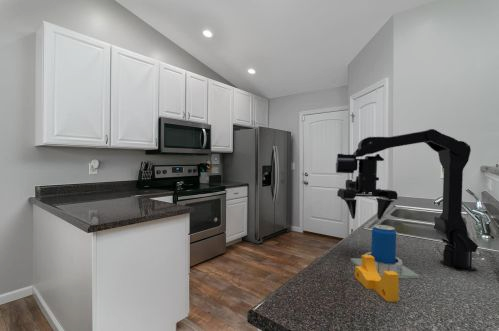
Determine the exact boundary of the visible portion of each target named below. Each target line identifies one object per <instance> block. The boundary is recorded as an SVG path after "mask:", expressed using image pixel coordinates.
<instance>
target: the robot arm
mask: <svg viewBox="0 0 499 331" xmlns="http://www.w3.org/2000/svg"><path fill="white" fill-rule="evenodd" d="M421 143H425V144H426V145H427V146H428V147H429V148H430V149H431V150H432V151H434V152H437V154H438V159H439V163H440V165H441V166H442V169H443V178H442V181H443V182H442V211H441V214H440V216H434V219H433V220H434V226H433V229H434V230H435V232H436V235H437V236H439V237H440V238H441V241H442V243H445V245H444V249H443V255H442V256H443V257H442V258H443V260H440V261H439V263H442V264H444V265H446V266H448V267H450V268H452V269H454V270H457V271H477V268H476V267H474V266H472V257H473V253H476V252H477V249H478V248H479V246H478V243H476V242H474V240H472V239H471V238H470V237H469V232H468V227H467V224H466V222H465V219H464V218H463V215H462V210H463V175H464V174H463V173H464V170H465V167H466V166H467V164H468V163H469V161H470V160H469V159H470V156H471V151H472V150H471V146H470V144H468V143H467V142H466V141H462V140H458V139H456V138H454V137H452V136H449V135H447V134H444V133H441V132H440V131H438V130H437V129H435V128H429V129H426V130H422V131H416V132H415V131H414V132H410V133H405V134H399V135H392V136H367V137H365V138H362V139H361V140H360V141H359V142H358V144H357V149H356V150H354V152H353V153H352V154H346V153H345V154H344V153H338V154H336V155H337V156H336V162H335V173H337V174H354V173H355V171H358V176H356V177H355V181H353V180H352V179H346V180H345V188H338V190H337V194H336V196H337V197H338V198H340V199H341V200H342V201H343V200H344V203H346V205H347V207H348V210H349V214H350V217H351V220H352V219H353V220H355V218H356V211H357V209H356V208H357V199H355V198H356V197H363V198H364V197H370V198H373V197H375V198H376V201H377V220H381V219H382V217H383V216H384V214H385V213H386V210H387V209H388V208H389V206H390V205H391V204H392V203H394V202H395V200H398V199H399V198H398V196H399V194H398V192H397V191H396V190H393V189H377V181H380V177H378V176H377V175H378V162H383V161H385V159H384V158H383V157H382V156H381V155H380V154H378V152H381V151H384V150H388V149H391V148H397V147H403V146H410V145H414V144H421ZM376 153H377V154H376ZM372 154H375V155H373V156H372ZM360 157H361V158H360ZM362 157H364V158H362Z"/></svg>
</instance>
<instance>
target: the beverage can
mask: <svg viewBox="0 0 499 331" xmlns="http://www.w3.org/2000/svg"><path fill="white" fill-rule="evenodd" d="M370 248H371V250H370V252H371V256H373V257H374V258H375V261H378V262H382V263H391V264H395V258H396V257H397V256H396V253H397V231H396V229H395V227H393V226H390V225H387V224H386V225H385V224H374V225H373V227H372V229H371V247H370Z"/></svg>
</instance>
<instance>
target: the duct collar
mask: <svg viewBox="0 0 499 331" xmlns="http://www.w3.org/2000/svg"><path fill="white" fill-rule="evenodd" d="M364 255H371V251H369V252H366V253H364ZM361 261H362V257H361V258H355V257H354V258H350V262H351V263H353V264H354V265H355V266H361ZM375 266H376V269H377V272H378V274H379V276H380V277H381V278H382V275H383V271H394V272H396V273H397V274H399V279H420V276H421V275H420V274H418V273H416V272H415V271H413V270H411V269H410V268H408V267H407V266H405V265H403V260H402V259H401V258H399V257H397V256H396V258H395V264H391V263H382V262H378V261H375Z"/></svg>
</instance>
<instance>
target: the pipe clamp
mask: <svg viewBox="0 0 499 331" xmlns="http://www.w3.org/2000/svg"><path fill="white" fill-rule="evenodd" d="M361 258H362V261H361V266H356V265H355V266H354V278H355V279H356V280H357V281H358V282H359V283H360V284H361V285H362V286H363V287H364V288H365V289H366V290H374V291H375V292H376V293H377V294H378V295H379V296H380V297H382V299H384V300H385V301H386V302H387V303H388V302H389V303H395V302H399V288H400V286H399V285H400V278H399V274H397V273H396V272H394V271H383V275H382V278H381V277H380V276H379V274H378V272H377V269H376V266H375V258H374V257H373V256H371V255H365V254H362V255H361Z"/></svg>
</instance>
